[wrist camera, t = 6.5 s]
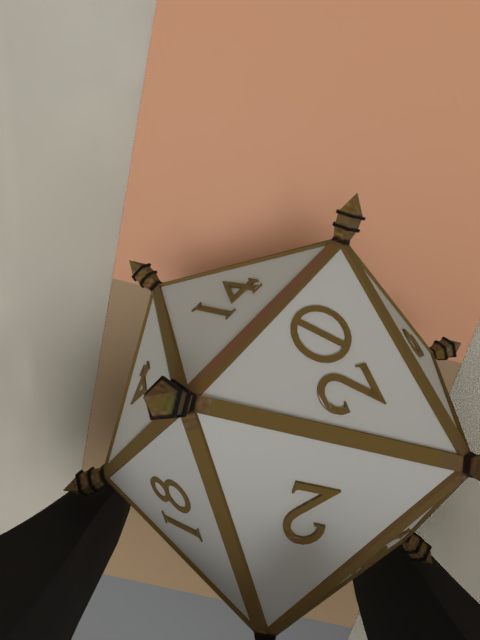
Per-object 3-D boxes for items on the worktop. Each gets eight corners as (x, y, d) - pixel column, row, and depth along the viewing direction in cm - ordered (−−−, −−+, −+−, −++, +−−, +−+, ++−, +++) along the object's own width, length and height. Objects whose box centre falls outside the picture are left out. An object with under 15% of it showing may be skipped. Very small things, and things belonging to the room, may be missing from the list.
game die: (212, 315, 16) (-32, 186, 7) (431, 270, 13) (462, -55, 4) (223, 552, 14) (-136, 790, 5) (501, 570, 10) (979, 1410, 2)
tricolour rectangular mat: (632, -55, 10) (635, -57, 10) (276, 807, 19) (276, 809, 19) (187, -182, 10) (186, -186, 9) (36, 759, 18) (35, 761, 18)
